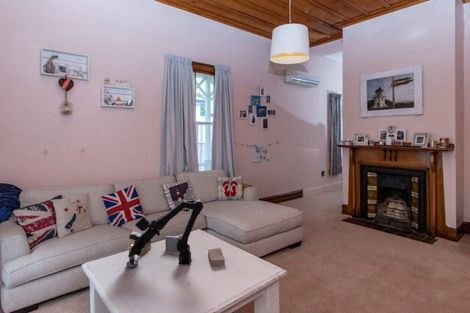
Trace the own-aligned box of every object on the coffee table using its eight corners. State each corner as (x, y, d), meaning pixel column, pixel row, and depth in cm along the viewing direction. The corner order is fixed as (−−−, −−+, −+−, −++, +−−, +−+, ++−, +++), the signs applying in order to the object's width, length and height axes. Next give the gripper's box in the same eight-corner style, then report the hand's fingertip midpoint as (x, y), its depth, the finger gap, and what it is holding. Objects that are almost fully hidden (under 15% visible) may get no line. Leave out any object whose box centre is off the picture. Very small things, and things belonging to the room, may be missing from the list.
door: (151, 248, 191) (150, 233, 190) (141, 256, 178) (140, 240, 178) (149, 247, 191) (148, 233, 190) (139, 255, 179) (138, 240, 178)
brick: (225, 266, 165) (225, 258, 164) (211, 267, 163) (210, 260, 163) (220, 254, 181) (220, 247, 181) (207, 255, 179) (207, 248, 179)
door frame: (183, 250, 188) (183, 236, 187) (182, 251, 186) (182, 238, 185) (149, 247, 193) (149, 234, 192) (148, 248, 191) (147, 235, 190)
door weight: (140, 263, 168) (139, 242, 167) (134, 269, 162) (133, 247, 161) (130, 262, 170) (129, 242, 169) (124, 267, 164) (123, 246, 162)
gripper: (140, 222, 174) (123, 240, 173) (133, 232, 155) (113, 253, 155) (154, 233, 175) (136, 251, 175) (149, 245, 157) (129, 266, 156)
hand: (129, 255), depth 165 cm, fingers closed on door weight, 3 cm apart
